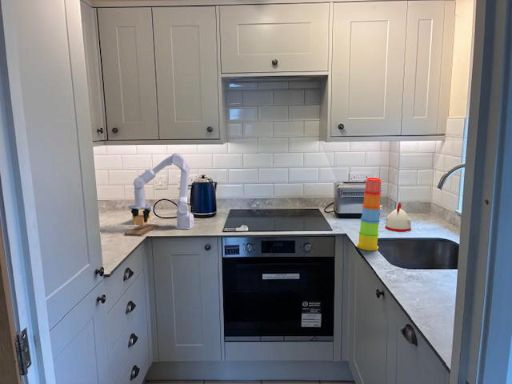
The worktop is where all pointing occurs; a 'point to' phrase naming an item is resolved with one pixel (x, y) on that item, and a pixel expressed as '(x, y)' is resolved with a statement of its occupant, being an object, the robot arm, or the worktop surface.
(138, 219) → the orange cube
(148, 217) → the candy box
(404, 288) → the worktop surface
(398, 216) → the cream dome
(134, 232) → the walnut board
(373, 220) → the stacking cups
